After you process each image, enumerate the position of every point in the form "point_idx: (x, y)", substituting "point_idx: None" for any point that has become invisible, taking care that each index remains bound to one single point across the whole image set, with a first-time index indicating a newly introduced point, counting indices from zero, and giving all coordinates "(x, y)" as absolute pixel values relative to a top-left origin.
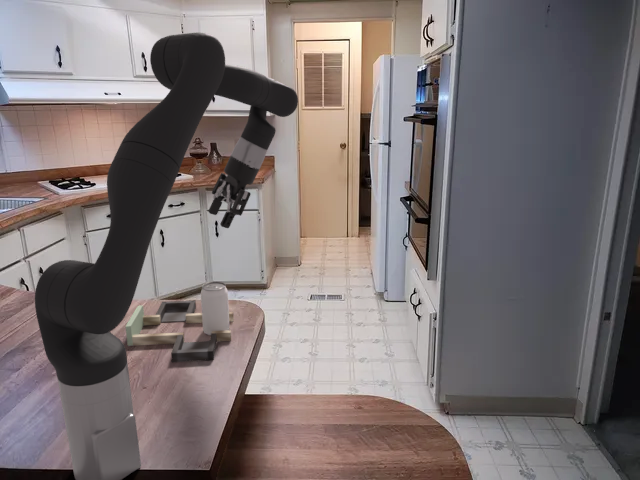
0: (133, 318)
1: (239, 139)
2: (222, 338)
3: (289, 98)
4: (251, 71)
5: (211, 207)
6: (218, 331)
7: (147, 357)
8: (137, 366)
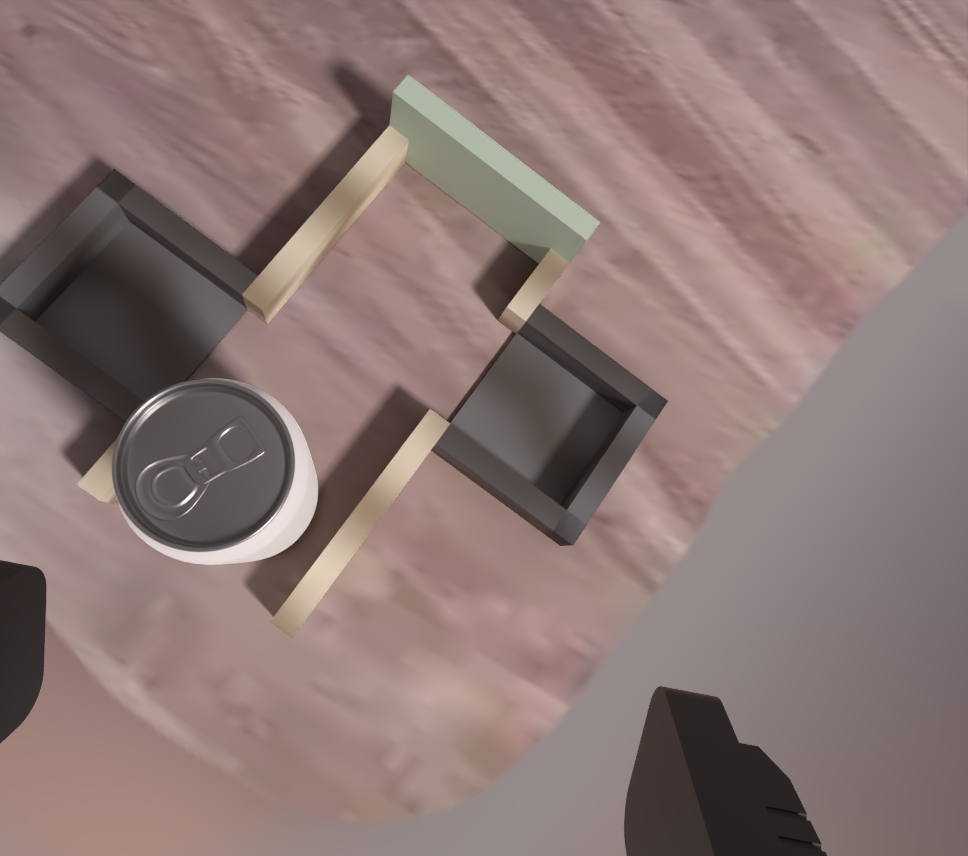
0: (467, 138)
1: None
2: None
3: None
4: None
5: (683, 757)
6: None
7: (246, 143)
8: (206, 84)
